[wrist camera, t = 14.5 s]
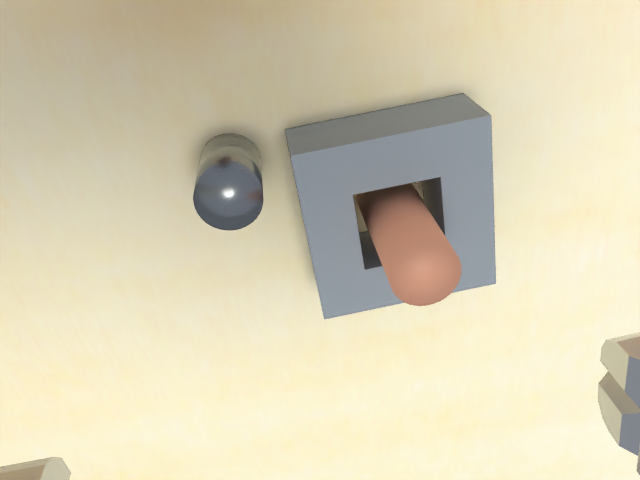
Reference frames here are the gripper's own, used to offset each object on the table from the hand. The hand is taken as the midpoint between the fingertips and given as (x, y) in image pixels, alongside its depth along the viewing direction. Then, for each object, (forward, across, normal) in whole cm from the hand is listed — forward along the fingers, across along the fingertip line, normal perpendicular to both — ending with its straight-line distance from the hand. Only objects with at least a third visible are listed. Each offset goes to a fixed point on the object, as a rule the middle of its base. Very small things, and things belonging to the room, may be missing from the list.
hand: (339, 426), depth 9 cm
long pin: (+31, -6, +12) cm, 34 cm away
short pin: (+31, +4, +7) cm, 32 cm away
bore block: (+31, -6, +11) cm, 34 cm away
